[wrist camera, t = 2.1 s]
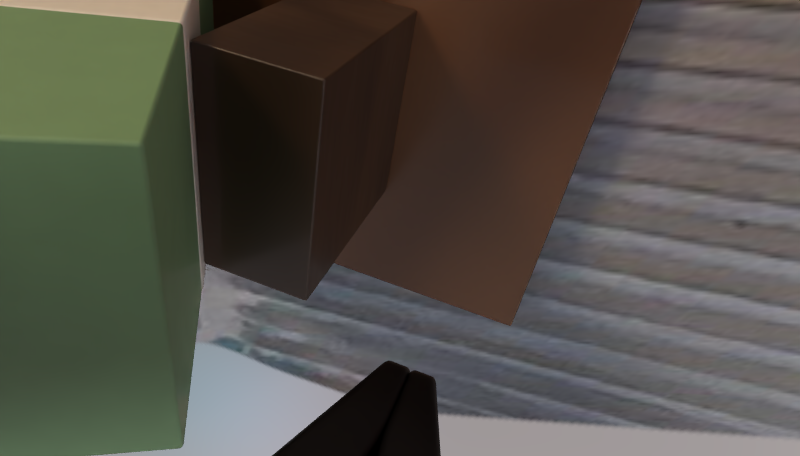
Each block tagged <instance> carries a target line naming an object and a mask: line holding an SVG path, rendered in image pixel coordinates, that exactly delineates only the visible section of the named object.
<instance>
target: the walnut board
mask: <svg viewBox="0 0 800 456" xmlns="http://www.w3.org/2000/svg"><path fill="white" fill-rule="evenodd" d="M641 2H642V0H213V19H214V30H212V31H210V32H207V33H205V34H203V35H200V36H198V37H196V38H194V39H191V41H190V47H191V62H192V78H193V93H194V109H195V124H196V139H197V155H198V170H199V186H200V201H201V217H202V232H203V247H204V262H205V263H206V264H209V265H211V266H214V267H217V268H219V269H222V270H225V271H227V272H230V273H233V274H235V275H238V276H241V277H243V278H246V279H249V280H252V281H254V282H257V283H260V284H262V285H265V286H268V287H270V288H273V289H276V290H278V291H281V292H284V293H286V294H289V295H292V296H294V297H297V298H300V299H302V300H307V299H308V298H309V296H310V295H311V294H312V292H313V291H314V289H315V288H316V287H317V285H318V284H319V282H320V281H321V280H322V278H323V277H324V275H325V274H326V273H327V271H328V270H329V268H330V267H331V266H332V264H333V263H335V264H338V265H341V266H344V267H347V268H349V269H352V270H355V271H358V272H361V273H363V274H366V275H369V276H372V277H375V278H377V279H380V280H383V281H386V282H389V283H391V284H394V285H397V286H400V287H403V288H405V289H408V290H411V291H414V292H417V293H419V294H422V295H425V296H428V297H431V298H433V299H436V300H439V301H442V302H445V303H447V304H450V305H453V306H456V307H459V308H461V309H464V310H467V311H470V312H473V313H475V314H478V315H481V316H484V317H486V318H489V319H492V320H495V321H498V322H500V323H503V324H506V325H509V326H511V324H512V322H513V319H514V317H515V314H516V312H517V309H518V307H519V305H520V302H521V300H522V297H523V295H524V292H525V290H526V287H527V285H528V282H529V280H530V277H531V275H532V272H533V270H534V267H535V265H536V262H537V260H538V257H539V255H540V252H541V250H542V248H543V245H544V243H545V240H546V238H547V235H548V233H549V230H550V228H551V225H552V223H553V220H554V218H555V215H556V213H557V210H558V208H559V205H560V203H561V200H562V198H563V195H564V193H565V190H566V188H567V186H568V183H569V181H570V178H571V176H572V173H573V171H574V168H575V166H576V163H577V161H578V158H579V156H580V153H581V151H582V148H583V146H584V143H585V141H586V138H587V136H588V133H589V131H590V129H591V126H592V124H593V121H594V119H595V116H596V114H597V111H598V109H599V106H600V104H601V101H602V99H603V96H604V94H605V91H606V89H607V86H608V84H609V81H610V79H611V76H612V74H613V71H614V69H615V67H616V64H617V62H618V59H619V57H620V54H621V52H622V49H623V47H624V44H625V42H626V39H627V37H628V34H629V32H630V29H631V27H632V24H633V22H634V19H635V17H636V14H637V12H638V9H639V7H640V5H641Z"/></svg>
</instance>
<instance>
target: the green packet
mask: <svg viewBox="0 0 800 456" xmlns="http://www.w3.org/2000/svg"><path fill="white" fill-rule="evenodd" d="M212 30H214V19H213V0H0V456H91V455H103V454H116V453H127V452H140V451H152V450H164V449H177V448H181V447H182V446H183V444H184V435H185V427H186V418H187V410H188V401H189V392H190V384H191V374H192V367H193V359H194V349H195V342H196V333H197V325H198V316H199V308H200V299H201V291H202V289H203V284H204V276H205V267H206V263H205V262H204V247H203V232H202V217H201V201H200V186H199V170H198V155H197V139H196V124H195V109H194V93H193V78H192V62H191V47H190V41H191V39H194V38H196V37H198V36H200V35H203V34H205V33H207V32H210V31H212Z"/></svg>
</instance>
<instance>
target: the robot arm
mask: <svg viewBox="0 0 800 456" xmlns="http://www.w3.org/2000/svg"><path fill="white" fill-rule="evenodd" d="M272 456H441V455H440V440H439V425H438V409H437V393H436V381H435V379H434V378H433V377H432V376H429V375H426V374H424V373H421V372H418V371H415V370H414V371H411V372H410V370H409V368H407V367H405V366H403V365H400V364H397V363H395V362H392V361H386V362H384V363H383V364H382V365H380V366H379V367H378V368H377V369H376V370H374V371H373V372H372V373H371V374H370V375H368V376H367V377H366V378H365V379H364V380H362V381H361V382H360V383H359V384H358V385H356V386H355V387H354V388H353V389H352V390H350V391H349V392H348V393H347V394H346V395H344V396H343V397H342V398H341V399H340V400H339V401H337V402H336V403H335V404H334V405H332V406H331V407H330V408H329V409H328V410H327V411H326V412H324V413H323V414H322V415H320V416H319V417H318V418H317V419H316V420H314V421H313V422H312V423H311V424H310V425H308V426H307V427H306V428H305V429H304V430H302V431H301V432H300V433H299V434H298V435H296V436H295V437H294V438H293V439H292V440H290V441H289V442H288V443H287V444H286V445H284V446H283V447H282V448H281V449H280V450H278V451H277V452H276V453H275V454H274V455H272Z"/></svg>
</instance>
